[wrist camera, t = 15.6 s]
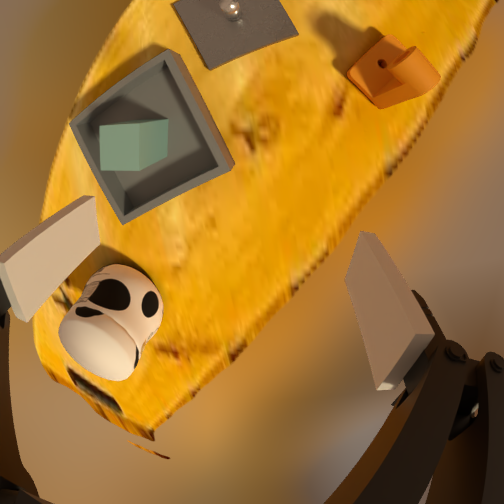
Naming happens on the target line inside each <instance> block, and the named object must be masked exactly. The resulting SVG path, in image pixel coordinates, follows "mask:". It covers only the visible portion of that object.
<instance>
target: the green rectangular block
mask: <svg viewBox="0 0 504 504" xmlns="http://www.w3.org/2000/svg"><path fill="white" fill-rule="evenodd" d="M168 120H169V119H147V120H131V121H125V122H119V123H113V124H107V125H102V126H100V167H101V170H112V171H140V170H142V169H144V168H146V167H148V166H150V165H152V164H154V163H156V162H158V161H159V160H161V159H163V158H165V157H167V145H168Z"/></svg>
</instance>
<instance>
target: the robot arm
mask: <svg viewBox="0 0 504 504" xmlns="http://www.w3.org/2000/svg"><path fill="white" fill-rule="evenodd" d="M99 245H100V238H99V231H98V223H97V215H96V205H95V196H82V197H80V198H79V199H77V200H75V201H74V202H72V203H71V204H69V205H68V206H66V207H64V208H63V209H61V210H60V211H58V212H57V213H55V214H54V215H52V216H51V217H49V218H48V219H46V220H45V221H44V222H42V223H41V224H39V225H38V226H37V227H35V228H34V229H32V230H31V231H30V232H28V233H27V234H26V235H24V236H23V237H22V238H20V239H19V240H18V241H16V242H15V243H14V244H13V245H11V246H10V247H9V248H7V249H6V250H5V251H4V252H3V253H1V254H0V504H53V503H51V502H48V501H46V500H43V499H41V498H40V497H39V495H38V492H37V489H36V486H35V484H34V481H33V480H32V478H31V476H30V475H29V473H28V472H27V471H26V469H25V468H24V466H23V464H22V462H21V459H20V455H19V450H18V445H17V440H16V435H15V429H14V423H13V416H12V407H11V397H10V385H9V327H10V315H9V313H8V311H7V310H8V309H9V308H10V307H12V309H13V311H14V313H15V315H16V317H17V318H19V319H21V320H23V321H25V322H28V321H29V320H30V319H31V317H32V316H33V315H34V314H35V313H36V311H37V310H38V309H39V308H40V307H41V306H42V304H43V303H44V302H45V301H46V300H47V299H48V298H49V296H50V295H51V294H52V293H53V292H54V291H55V290H56V289H57V288H58V286H59V285H60V284H61V283H62V282H63V281H64V280H65V279H66V278H67V277H68V276H69V275H70V274H71V273H72V272H73V270H74V269H75V268H76V267H77V266H78V265H79V264H80V263H81V262H82V261H83V260H84V259H85V258H86V257H87V256H88V255H89V254H90V253H91V252H92V251H93V250H94V249H95V248H96V247H97V246H99ZM345 283H346V285H347V289H348V292H349V295H350V298H351V301H352V304H353V307H354V310H355V314H356V317H357V320H358V323H359V327H360V330H361V334H362V337H363V341H364V344H365V348H366V351H367V355H368V359H369V363H370V366H371V370H372V374H373V378H374V382H375V386H376V390H390V389H391V390H392V389H396V387H397V386H398V384H400V382H401V381H402V380H404V383H405V386H406V388H405V390H404V391H403V392H402V393H401V394H400V395H399V396H398V398H397V399H396V400H395V401H394V402H393V403H392V404H391V405H392V406H394V407H393V409H392V411H391V413H390V414H389V416H388V417H387V419H386V421H385V423H384V424H383V426H382V428H381V429H380V430H379V432H378V434H377V435H376V437H375V438H374V440H373V441H372V443H371V444H370V446H369V447H368V448H367V450H366V451H365V453H364V454H363V456H362V457H361V458H360V460H359V461H358V462H357V464H356V465H355V466H354V468H353V469H352V470H351V472H350V473H349V474H348V476H347V477H346V478H345V479H344V480H343V482H342V483H341V484H340V485H339V487H338V488H337V489H336V490H335V491H334V492H333V494H332V495H331V496H330V497H329V498H328V499H327V500H326V502H325V503H324V504H418V503H419V501H420V499H421V498H422V496H423V494H424V492H425V490H426V488H427V486H428V484H429V482H430V480H431V478H432V476H433V478H432V481H431V486H430V489H429V493H428V497H427V500H426V503H425V504H504V359H503V358H502V357H501V356H500V355H498V354H496V353H494V352H488V353H486V355H485V356H484V357H483V359H482V360H481V361H476V360H473V359H469V357H468V355H467V353H466V351H465V350H464V348H462V346H461V345H459V344H458V343H456V342H454V341H452V340H446V338H445V336H444V334H443V332H442V331H441V329H440V327H439V325H438V323H437V321H436V320H435V318H434V317H433V316H432V312H431V311H430V309H428V306H427V304H426V302H425V300H424V299H423V298H422V297H421V296H420V295H419V294H418V293H417V292H416V291H415V290H411V289H410V288H409V286H408V284H407V283H406V281H405V279H404V278H403V276H402V274H401V273H400V271H399V270H398V268H397V266H396V265H395V263H394V262H393V260H392V259H391V257H390V256H389V254H388V252H387V251H386V249H385V248H384V246H383V245H382V243H381V242H380V240H379V239H378V237H377V236H376V235H375V234H374V233H369V232H364V231H360V234H359V237H358V241H357V244H356V247H355V250H354V254H353V256H352V260H351V263H350V265H349V268H348V271H347V275H346V277H345ZM477 408H478V414H477V416H476V417H475V416H474V411H475V410H476V409H477Z"/></svg>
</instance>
